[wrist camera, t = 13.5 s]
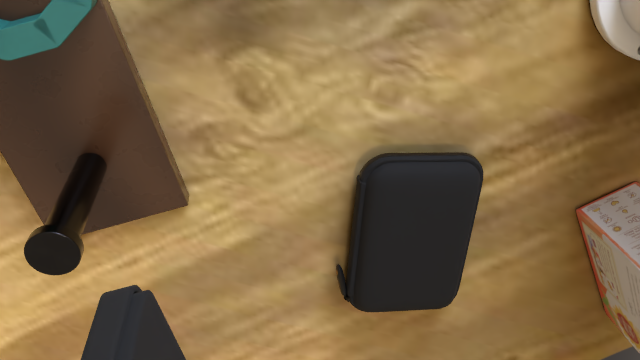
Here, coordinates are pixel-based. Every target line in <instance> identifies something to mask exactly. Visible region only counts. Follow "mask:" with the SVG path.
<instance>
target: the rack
mask: <svg viewBox="0 0 640 360" xmlns="http://www.w3.org/2000/svg"><path fill="white" fill-rule="evenodd" d="M50 2H51V0H0V19H3V20H7V21H14V20H18V19H21V18H25V17H28V16H32V15H36V14H39V13H42V11H43V10H44V9H45V8H46V6H47V5H48V4H49V3H50ZM0 151H1V153H2V154H3V156H4V158H5V159H6V161H7V163H8V164H9V166H10V168H11V169H12V171H13V173H14V175H15V176H16V178H17V180H18V181H19V183H20V185H21V186H22V188H23V190H24V191H25V193H26V195H27V197H28V198H29V200H30V202H31V203H32V205H33V207H34V208H35V210H36V212H37V213H38V215H39V217H40V219H41V220H42V222H43V224H44V226H41V227H39V228H37V229H36V230H34V231H33V232H32V233H31V235H30V236H29V238H28V240H27V242H26V244H25V247H24V255H25V258H26V260H27V262H28V263H29V264H30V265H31V266H32V267H33V268H34V269H36V270H37V271H39V272H41V273H44V274H48V275H62V274H66V273H69V272H71V271H72V270H74V269H75V268H76V267H77V266H78V264H79V262H80V260H81V257H82V254H83V251H84V246H83V242H82V240H81V235H82V234H86V233H89V232H93V231H97V230H100V229H104V228H107V227H111V226H115V225H118V224H122V223H126V222H129V221H133V220H136V219H140V218H144V217H147V216H151V215H155V214H158V213H162V212H165V211H169V210H173V209H176V208H180V207H184V206H187V205H188V199H189V194H188V191H187V189H186V186H185V184H184V182H183V179H182V177H181V174H180V172H179V170H178V167H177V165H176V162H175V160H174V158H173V155H172V153H171V150H170V148H169V146H168V143H167V141H166V138H165V136H164V134H163V131H162V129H161V126H160V124H159V122H158V119H157V117H156V114H155V112H154V110H153V107H152V105H151V102H150V100H149V98H148V95H147V93H146V90H145V88H144V86H143V83H142V81H141V78H140V76H139V74H138V71H137V69H136V66H135V64H134V62H133V59H132V57H131V54H130V52H129V50H128V47H127V45H126V42H125V40H124V38H123V35H122V33H121V30H120V28H119V26H118V23H117V21H116V18H115V16H114V14H113V11H112V9H111V6H110V4H109V2H108V0H97V3H96V5H95V6H94V7H93V8H92V10H91V11H90V12H89V13H88V14H87V15H86V17H85V18H84V19H83V20H82V21H81V22H80V24H79V25H78V26H77V27H76V28H75V29H74V31H73V32H72V33H71V34H70V35H69V36H68V38H67V39H66V40H65V41H64V42H63V43H62V44H61V46H59V47H58V48H54V49H51V50H47V51H43V52H40V53H36V54H33V55H29V56H26V57H22V58H18V59H15V60H11V61H6V60H2V59H0Z"/></svg>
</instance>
